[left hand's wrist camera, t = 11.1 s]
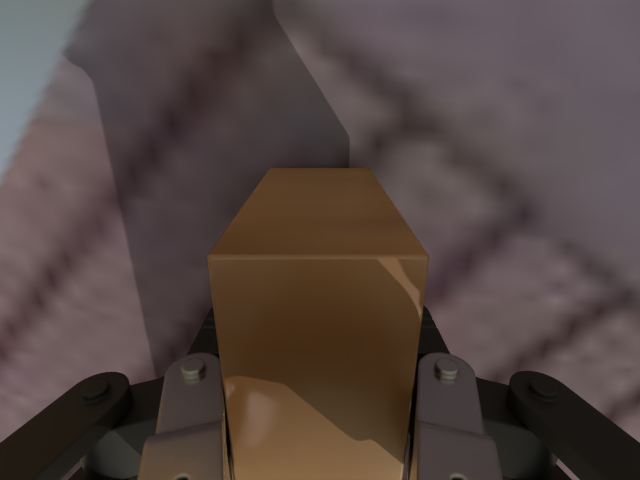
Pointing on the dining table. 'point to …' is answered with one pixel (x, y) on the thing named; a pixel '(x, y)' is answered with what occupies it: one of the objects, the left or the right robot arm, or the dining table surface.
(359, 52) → the dining table surface
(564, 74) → the dining table surface
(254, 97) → the dining table surface
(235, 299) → the wooden beam
